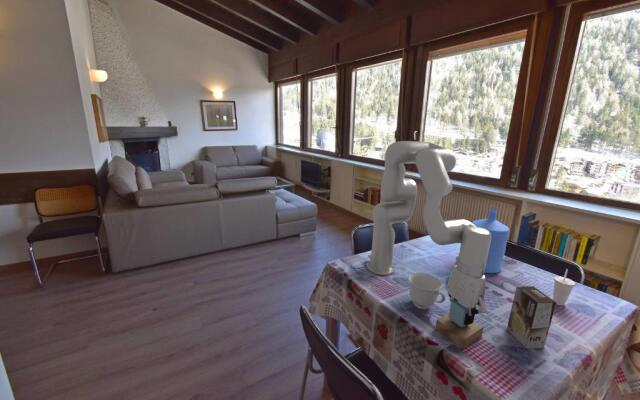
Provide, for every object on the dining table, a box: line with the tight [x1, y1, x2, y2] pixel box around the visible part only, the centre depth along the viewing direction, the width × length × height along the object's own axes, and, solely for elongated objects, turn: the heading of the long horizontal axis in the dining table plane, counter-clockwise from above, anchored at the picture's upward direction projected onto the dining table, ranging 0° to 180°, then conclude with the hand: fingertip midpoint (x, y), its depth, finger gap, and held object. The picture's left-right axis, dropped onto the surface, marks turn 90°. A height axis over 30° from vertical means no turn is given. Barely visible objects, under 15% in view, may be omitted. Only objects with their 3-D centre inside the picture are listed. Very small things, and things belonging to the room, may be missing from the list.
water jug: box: [471, 209, 510, 274], centre depth 137 cm, size 16×16×28 cm
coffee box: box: [506, 285, 557, 350], centre depth 91 cm, size 9×6×16 cm
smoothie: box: [552, 268, 576, 306], centre depth 112 cm, size 6×6×14 cm
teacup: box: [407, 272, 446, 310], centre depth 106 cm, size 12×15×10 cm
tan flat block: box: [434, 312, 485, 349], centre depth 94 cm, size 10×10×4 cm
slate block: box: [448, 300, 473, 327], centre depth 93 cm, size 5×5×6 cm
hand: (460, 317), depth 93 cm, fingers closed on slate block, 5 cm apart
